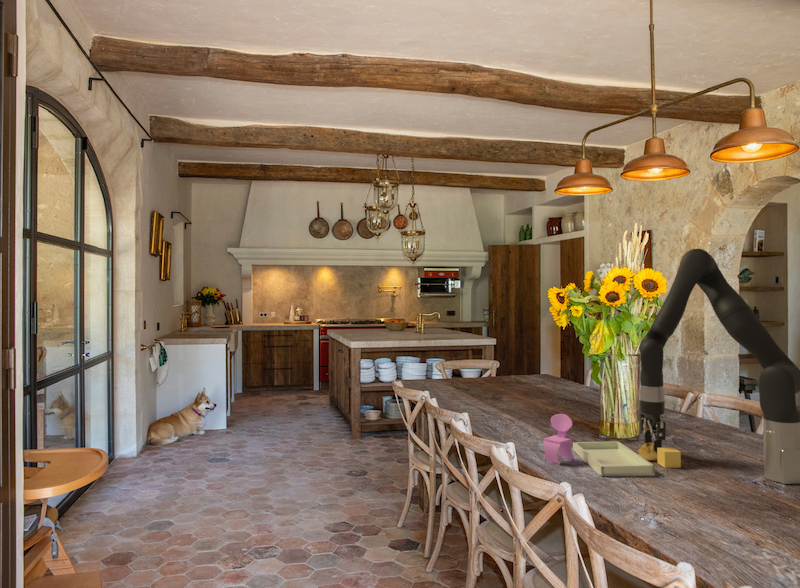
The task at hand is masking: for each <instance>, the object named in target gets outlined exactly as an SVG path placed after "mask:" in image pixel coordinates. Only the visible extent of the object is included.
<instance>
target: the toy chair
mask: <svg viewBox="0 0 800 588" xmlns="http://www.w3.org/2000/svg"><path fill="white" fill-rule="evenodd" d="M550 424H551V427H552V428H553V429H554V430H556V431H557V434H554V435H551V436H549V437H545V438H543V442H542V444H543V450H544V459H543V461H544V460H548V461H551V462H555V463H558V464H561V462H560V460H559V456H558V455H560V456H564V457H568V458H572V459H575V457H574V455H573V453H572V448H573V439H572V438H570V437H567V434H568V433H567V432H569V430H570V429H572V427H573V420H572V418H570V417H569V416H568V415H567V414H565V413H556V414H554V415H551V417H550ZM558 464H557V465H558Z"/></svg>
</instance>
